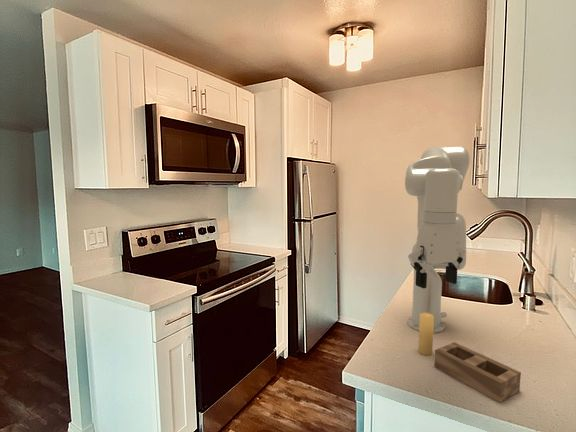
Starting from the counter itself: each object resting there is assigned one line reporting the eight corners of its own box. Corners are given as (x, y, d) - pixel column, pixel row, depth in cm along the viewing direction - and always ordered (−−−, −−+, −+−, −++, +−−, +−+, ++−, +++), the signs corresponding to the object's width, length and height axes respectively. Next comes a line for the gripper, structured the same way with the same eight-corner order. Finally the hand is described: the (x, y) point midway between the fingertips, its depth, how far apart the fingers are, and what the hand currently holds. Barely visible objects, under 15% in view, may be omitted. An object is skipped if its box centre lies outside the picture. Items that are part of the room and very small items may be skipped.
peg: (423, 347, 106) (425, 311, 104) (434, 353, 102) (436, 316, 101) (415, 351, 104) (417, 314, 102) (426, 356, 100) (428, 318, 99)
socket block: (453, 358, 99) (454, 342, 99) (519, 390, 84) (520, 372, 83) (434, 366, 95) (435, 349, 94) (500, 402, 79) (501, 383, 79)
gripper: (453, 215, 89) (450, 276, 91) (401, 218, 83) (398, 284, 85) (478, 218, 82) (474, 285, 84) (422, 222, 76) (419, 293, 78)
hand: (436, 284), depth 85 cm, fingers open, 9 cm apart
